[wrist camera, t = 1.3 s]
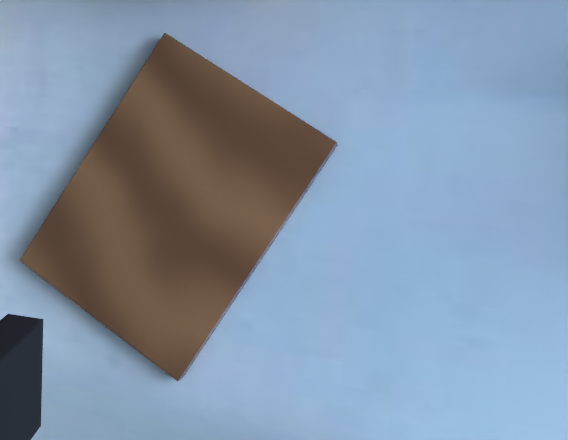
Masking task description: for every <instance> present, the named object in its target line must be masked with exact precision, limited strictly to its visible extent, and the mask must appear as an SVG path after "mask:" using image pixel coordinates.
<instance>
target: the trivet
mask: <svg viewBox="0 0 568 440" xmlns="http://www.w3.org/2000/svg"><path fill="white" fill-rule="evenodd" d="M336 146H337V142H335V141H334V140H332V139H331V138H329V137H328V136H326V135H325V134H323V133H321V132H320V131H318V130H317V129H315V128H314V127H312V126H310V125H309V124H307V123H306V122H304V121H303V120H301V119H299V118H298V117H296V116H295V115H293V114H292V113H290V112H288V111H287V110H285V109H284V108H282V107H281V106H279V105H277V104H276V103H274V102H273V101H271V100H270V99H268V98H266V97H265V96H263V95H262V94H260V93H259V92H257V91H255V90H254V89H252V88H251V87H249V86H248V85H246V84H244V83H243V82H241V81H240V80H238V79H237V78H235V77H233V76H232V75H230V74H229V73H227V72H226V71H224V70H222V69H221V68H219V67H218V66H216V65H215V64H213V63H211V62H210V61H208V60H207V59H205V58H204V57H202V56H200V55H199V54H197V53H196V52H194V51H193V50H191V49H189V48H188V47H186V46H185V45H183V44H182V43H180V42H178V41H177V40H175V39H174V38H172V37H171V36H169V35H167V34H166V33H164V35H163V36H162V38H161V39H160V41H159V42H158V44H157V46H156V47H155V49H154V50H153V52H152V53H151V55H150V57H149V58H148V60H147V61H146V63H145V64H144V66H143V68H142V69H141V71H140V72H139V74H138V75H137V77H136V78H135V80H134V82H133V83H132V85H131V86H130V88H129V89H128V91H127V93H126V94H125V96H124V97H123V99H122V100H121V102H120V104H119V105H118V107H117V108H116V110H115V111H114V113H113V115H112V116H111V118H110V119H109V121H108V122H107V124H106V126H105V127H104V129H103V130H102V132H101V133H100V135H99V137H98V138H97V140H96V141H95V143H94V144H93V146H92V148H91V149H90V151H89V152H88V154H87V155H86V157H85V159H84V160H83V162H82V163H81V165H80V166H79V168H78V170H77V171H76V173H75V174H74V176H73V177H72V179H71V180H70V182H69V184H68V185H67V187H66V188H65V190H64V191H63V193H62V195H61V196H60V198H59V199H58V201H57V202H56V204H55V206H54V207H53V209H52V210H51V212H50V213H49V215H48V217H47V218H46V220H45V221H44V223H43V224H42V226H41V228H40V229H39V231H38V232H37V234H36V235H35V237H34V239H33V240H32V242H31V243H30V245H29V246H28V248H27V250H26V251H25V253H24V254H23V256H22V257H21V259H20V261H21V262H22V263H23V264H25V265H26V266H27V267H29V268H30V269H31V270H33V271H34V272H35V273H36V274H38V275H39V276H40V277H42V278H43V279H44V280H46V281H47V282H48V283H50V284H51V285H52V286H54V287H55V288H56V289H57V290H59V291H60V292H61V293H63V294H64V295H65V296H67V297H68V298H69V299H71V300H72V301H73V302H75V303H76V304H77V305H78V306H80V307H81V308H82V309H84V310H85V311H86V312H88V313H89V314H90V315H92V316H93V317H94V318H96V319H97V320H98V321H99V322H101V323H102V324H103V325H105V326H106V327H107V328H109V329H110V330H111V331H113V332H114V333H115V334H117V335H118V336H119V337H120V338H122V339H123V340H124V341H126V342H127V343H128V344H130V345H131V346H132V347H134V348H135V349H136V350H138V351H139V352H140V353H141V354H143V355H144V356H145V357H147V358H148V359H149V360H151V361H152V362H153V363H155V364H156V365H157V366H159V367H160V368H161V369H162V370H164V371H165V372H166V373H168V374H169V375H170V376H172V377H173V378H174V379H176V380H177V381H179V380H180V379H181V378H183V376H184V375H185V373H186V372H187V370H188V369H189V367H190V366H191V364H192V363H193V361H194V360H195V358H196V357H197V355H198V354H199V352H200V351H201V349H202V348H203V346H204V345H205V343H206V342H207V340H208V339H209V337H210V336H211V334H212V333H213V331H214V330H215V328H216V327H217V325H218V324H219V322H220V321H221V319H222V318H223V316H224V315H225V313H226V312H227V310H228V309H229V307H230V306H231V304H232V303H233V301H234V300H235V298H236V297H237V295H238V294H239V292H240V291H241V289H242V288H243V286H244V285H245V283H246V282H247V280H248V279H249V277H250V276H251V274H252V273H253V271H254V270H255V268H256V267H257V265H258V264H259V262H260V261H261V259H262V258H263V256H264V255H265V253H266V252H267V250H268V249H269V247H270V246H271V244H272V243H273V241H274V240H275V238H276V237H277V235H278V234H279V232H280V231H281V229H282V228H283V226H284V225H285V223H286V222H287V220H288V219H289V217H290V216H291V214H292V213H293V211H294V210H295V208H296V207H297V205H298V204H299V202H300V201H301V199H302V198H303V196H304V195H305V193H306V192H307V190H308V189H309V187H310V186H311V184H312V183H313V181H314V179H315V178H316V176H317V175H318V173H319V172H320V170H321V169H322V167H323V166H324V164H325V163H326V161H327V160H328V158H329V157H330V155H331V154H332V152H333V151H334V149H335V148H336Z"/></svg>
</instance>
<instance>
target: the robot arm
mask: <svg viewBox="0 0 568 440" xmlns="http://www.w3.org/2000/svg"><path fill="white" fill-rule="evenodd" d="M42 346H43V319H37V318H31V317H24V316H18V315H11V314H7V315H6V316H5V317H4V318H3V319H1V320H0V440H31V438H32V437H33V436H34V434H35V433H36V432H37V430H38V429H39V427H40V426H41V391H42Z"/></svg>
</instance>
